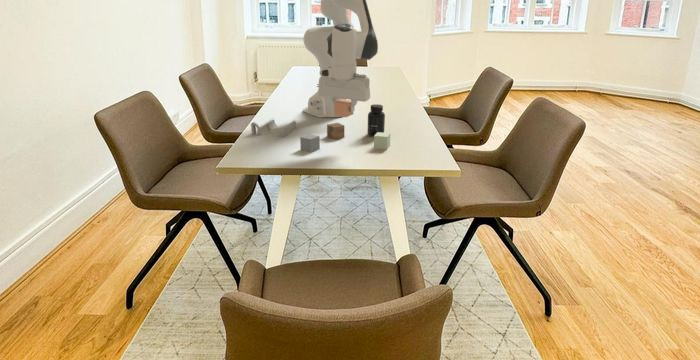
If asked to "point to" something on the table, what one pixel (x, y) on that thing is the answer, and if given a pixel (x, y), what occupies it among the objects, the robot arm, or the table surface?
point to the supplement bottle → (376, 120)
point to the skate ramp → (271, 126)
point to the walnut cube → (335, 130)
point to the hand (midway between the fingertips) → (344, 110)
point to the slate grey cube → (310, 142)
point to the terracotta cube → (342, 108)
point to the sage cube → (381, 140)
